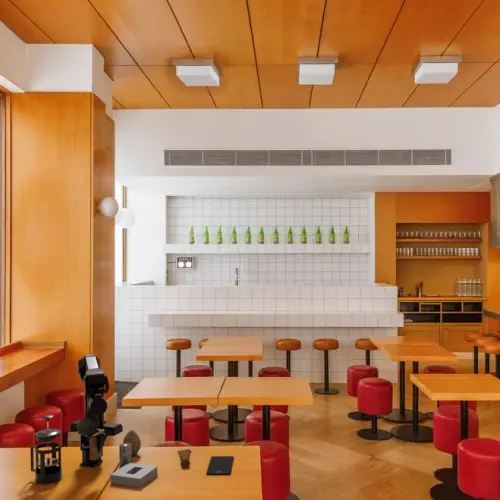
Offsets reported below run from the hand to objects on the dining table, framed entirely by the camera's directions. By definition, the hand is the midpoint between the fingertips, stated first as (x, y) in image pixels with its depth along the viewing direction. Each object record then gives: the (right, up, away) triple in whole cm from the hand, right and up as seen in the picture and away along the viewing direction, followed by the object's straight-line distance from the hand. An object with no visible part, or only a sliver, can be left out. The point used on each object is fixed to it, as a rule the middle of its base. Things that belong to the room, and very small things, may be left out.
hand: (96, 451), depth 205 cm
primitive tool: (+28, -11, +23) cm, 38 cm away
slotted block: (+13, -11, +3) cm, 17 cm away
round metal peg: (+7, -11, +16) cm, 20 cm away
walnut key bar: (0, -2, 0) cm, 2 cm away
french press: (-19, -11, +4) cm, 22 cm away
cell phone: (+43, -11, +14) cm, 47 cm away
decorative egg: (+7, -11, +27) cm, 30 cm away
